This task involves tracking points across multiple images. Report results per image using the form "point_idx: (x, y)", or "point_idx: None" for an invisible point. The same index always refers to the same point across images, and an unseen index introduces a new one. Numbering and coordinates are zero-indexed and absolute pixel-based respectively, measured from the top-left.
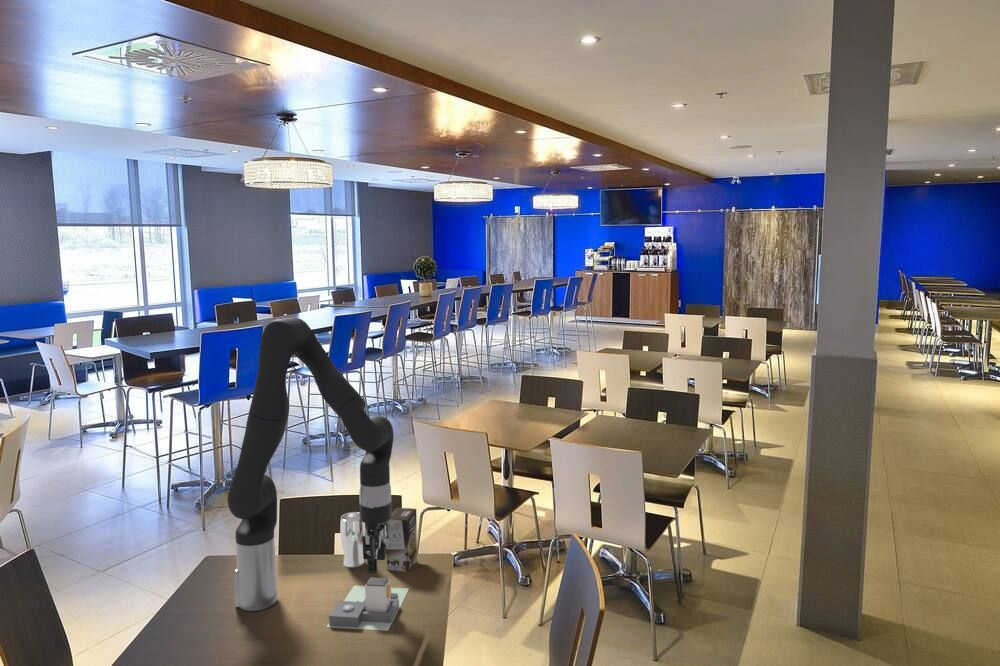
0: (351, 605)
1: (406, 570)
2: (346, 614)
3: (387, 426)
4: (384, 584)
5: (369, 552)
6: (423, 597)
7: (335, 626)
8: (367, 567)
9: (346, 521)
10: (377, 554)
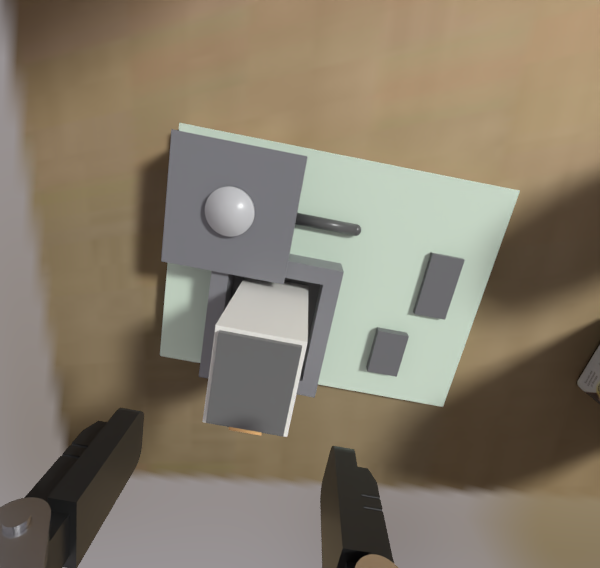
0: (244, 225)
1: (591, 395)
2: (184, 210)
3: None
4: (217, 420)
5: (44, 564)
6: (397, 439)
7: None
8: (99, 432)
9: None
10: (333, 481)
